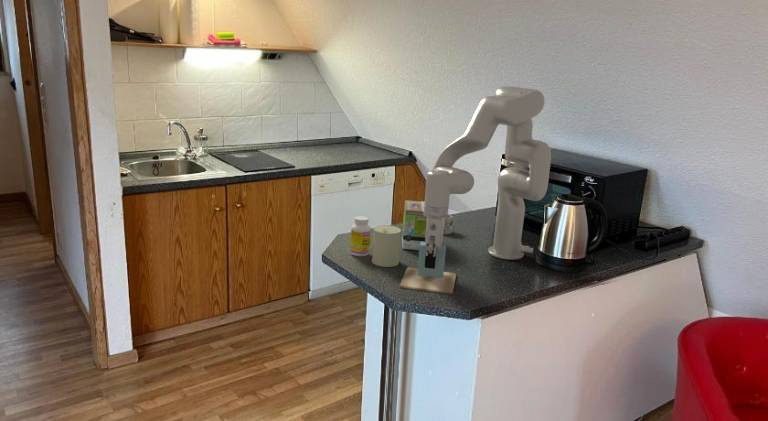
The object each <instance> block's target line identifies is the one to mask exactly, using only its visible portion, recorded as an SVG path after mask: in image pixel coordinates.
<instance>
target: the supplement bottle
mask: <svg viewBox="0 0 768 421" xmlns="http://www.w3.org/2000/svg"><path fill="white" fill-rule="evenodd" d="M350 229H351V230H350V247H349V251H350V252H349V253H350V254H351V255H353V256H355V257H366V256H368V255H369V253H370V245H371V233H372V232H371V231H372V230H371V229H372V228H371V226H370V225H369V217H367V216H363V215H362V216H361V215H359V216H355V217H354V224H352V226H351V228H350Z"/></svg>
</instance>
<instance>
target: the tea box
mask: <svg viewBox="0 0 768 421" xmlns="http://www.w3.org/2000/svg"><path fill="white" fill-rule="evenodd" d="M424 202H425V201H421V200H420V201H419V200H406V199H405V200H404V206H403V207H404V208H403V216H402V218H403V220H402V229H401V247H402V249H403V250H414V251H419V247H420V243H421V242H425V237H426V223H427V216H425V215H424Z"/></svg>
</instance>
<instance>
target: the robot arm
mask: <svg viewBox="0 0 768 421" xmlns="http://www.w3.org/2000/svg"><path fill="white" fill-rule="evenodd" d="M544 107H545V96H544V94H543V93H542V91H541V90H537V89H534V88H528V87H519V86H509V85H508V86H507V85H506V86H501V87H499V88H497V90H496V91H495V93H494V95H488V96H485V97H483V98H482V99H481V100H480V101H479V103H478V105H477V107H476V108H475V111H474V112H473V115H472V117H471V118H470V120H469V123H468V124H467V127H466V128H465V130H464V132H463V134H462V135H461V136H459V137H458V138H456V139H455V140H454V141H452V142H450V144H449V145H447V146H446V147H445V148H444V149H443V150H442V151H441V153H439V155H438V157H437V158H436V161H435V163H434V165H433V168H432V169H431V170H429V171H428V172H427V174H426V179H425V190H424V191H425V192H424V193H425V194H424V201H423V202H424V215H425V216H427V223H426V237H425V247H426V248H427V251H426V255H425V268H431V269H434V268H435V262H436V256H435V253H436V248H438V249H441V246H442V244H443V242H444V235H443V233H444V218H446V217H448V214H449V206H450V195H464V194H468V193H469V192H470V191H472V189H473V187H474V185H475V179H474V176H473V174H472V173H471V172H469V171H467V170H465V169H459V168H458V167H454V165H455V163H456V162H457V161H458V160H460V158H462V157H464V156H466V155H468V154H472V153H475V152H480V151H483V150H485V149H487V147H488V146H489V144H490V142H491V140H492V138H493V136H494V134H495V132H496V129H497V128H498V126H499V125H503V126H506V136H505V147H504V158H505V160H506V161H507V162H508V163H509V164H512V165H516V166H520V167H525V168H528V170H527V169H523V168H519V167H513V166H511V167H505V168H503V169H502V170H500V172H499V174H498V176H497V177H498V178H497V192H498V194H497V196H498V198H497V210H496V217H495V219H496V220H495V226H494V234H493V243H492V246H490V247H488V250H487V252H488V254H489V255H491V256H492V257H495V258H497V259H502V260H510V261H511V260H512V261H513V260H521V259H522V258H523V257H524V253H527V254H533V253H534V247H530V245H523V244H522V236H523V235H522V233H523V227H524V220H525V213H526V212H525V211H526V205H525V201H524V199H526V200H529V201H535V202H536V201H541V200H542V199H543V198H544V197H545V195H546V193H547V191H548V186H549V180H550V179H549V178H550V173H551V172H550V170H551V162H552V151H551V147H550V146H549V144H548V143H546V142H545V141H542V140H537V139H533V126H534V125H533V124H534V123H533V118H535V117H537V116H538V115H539V114H540V113H541V112H542V110H543V109H544ZM433 249H434V250H433Z"/></svg>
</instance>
